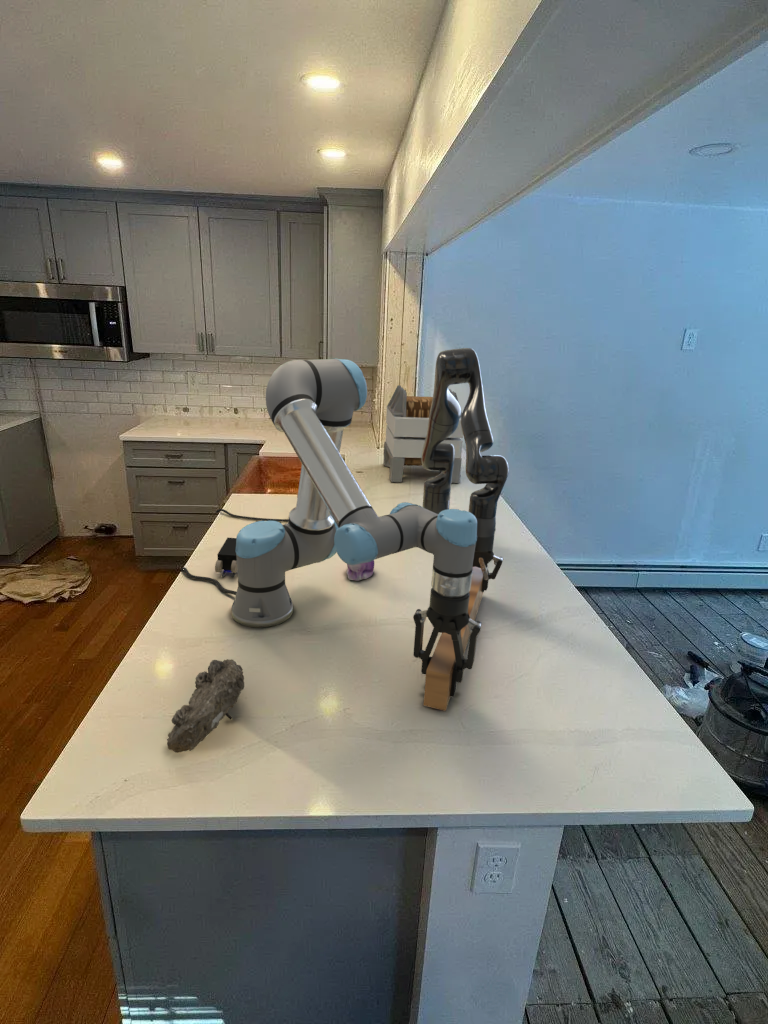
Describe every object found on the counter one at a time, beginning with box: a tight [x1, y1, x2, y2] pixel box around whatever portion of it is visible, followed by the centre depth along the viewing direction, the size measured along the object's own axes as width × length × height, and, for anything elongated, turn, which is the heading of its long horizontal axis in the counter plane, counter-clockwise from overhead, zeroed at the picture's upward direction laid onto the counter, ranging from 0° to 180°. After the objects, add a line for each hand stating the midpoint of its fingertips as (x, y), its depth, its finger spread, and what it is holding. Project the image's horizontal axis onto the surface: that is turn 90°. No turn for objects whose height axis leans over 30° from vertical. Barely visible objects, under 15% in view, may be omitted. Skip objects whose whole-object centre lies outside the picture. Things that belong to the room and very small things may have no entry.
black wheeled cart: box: [214, 537, 237, 578], centre depth 166 cm, size 7×8×15 cm
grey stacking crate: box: [383, 384, 464, 484], centre depth 268 cm, size 34×33×41 cm
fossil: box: [166, 658, 245, 754], centre depth 106 cm, size 22×10×15 cm
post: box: [422, 567, 484, 712], centre depth 134 cm, size 52×5×8 cm, turn 163°
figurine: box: [346, 560, 375, 582], centre depth 165 cm, size 9×10×15 cm
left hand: (440, 689), depth 117 cm, fingers closed on post, 5 cm apart
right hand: (473, 588), depth 153 cm, fingers closed on post, 4 cm apart
